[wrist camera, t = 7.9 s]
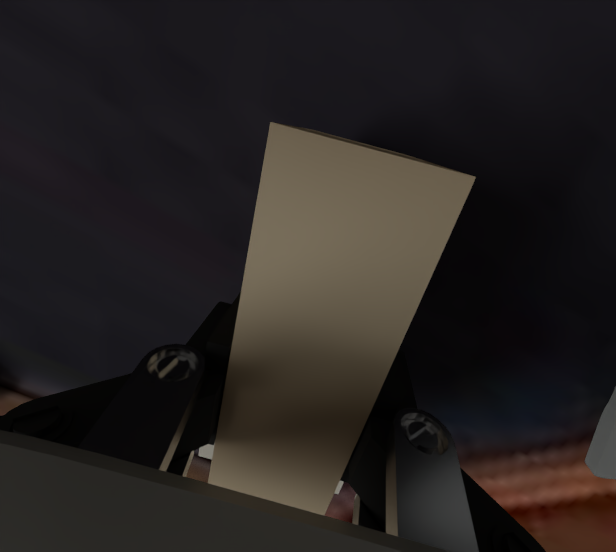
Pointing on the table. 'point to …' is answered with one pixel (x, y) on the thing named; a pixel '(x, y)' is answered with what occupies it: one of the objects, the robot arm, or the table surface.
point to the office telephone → (604, 443)
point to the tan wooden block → (325, 306)
